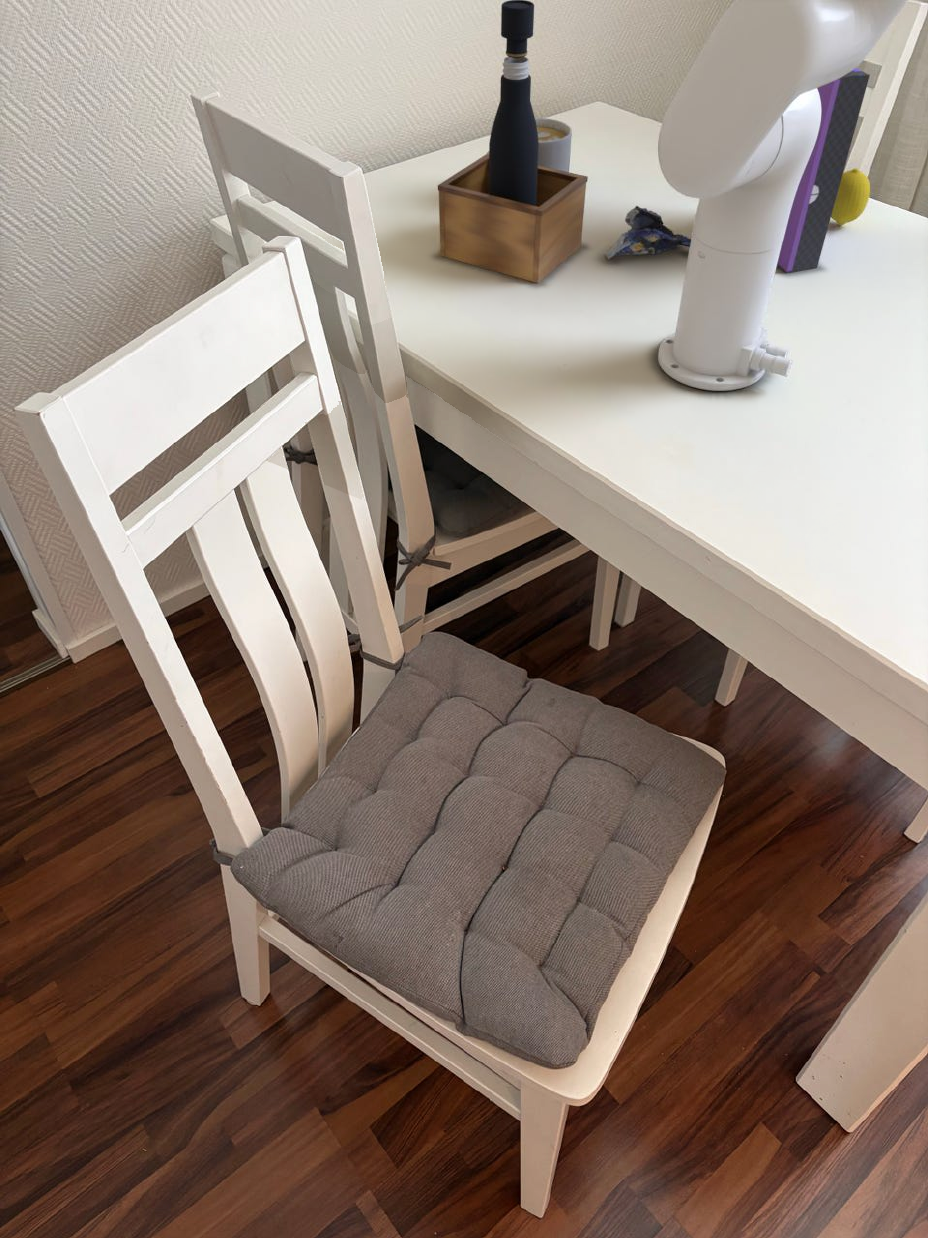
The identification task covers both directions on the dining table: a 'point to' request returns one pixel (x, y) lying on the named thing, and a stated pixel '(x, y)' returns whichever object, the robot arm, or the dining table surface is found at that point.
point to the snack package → (646, 235)
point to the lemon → (851, 197)
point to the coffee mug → (553, 144)
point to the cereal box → (822, 173)
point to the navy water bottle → (515, 113)
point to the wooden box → (511, 222)
